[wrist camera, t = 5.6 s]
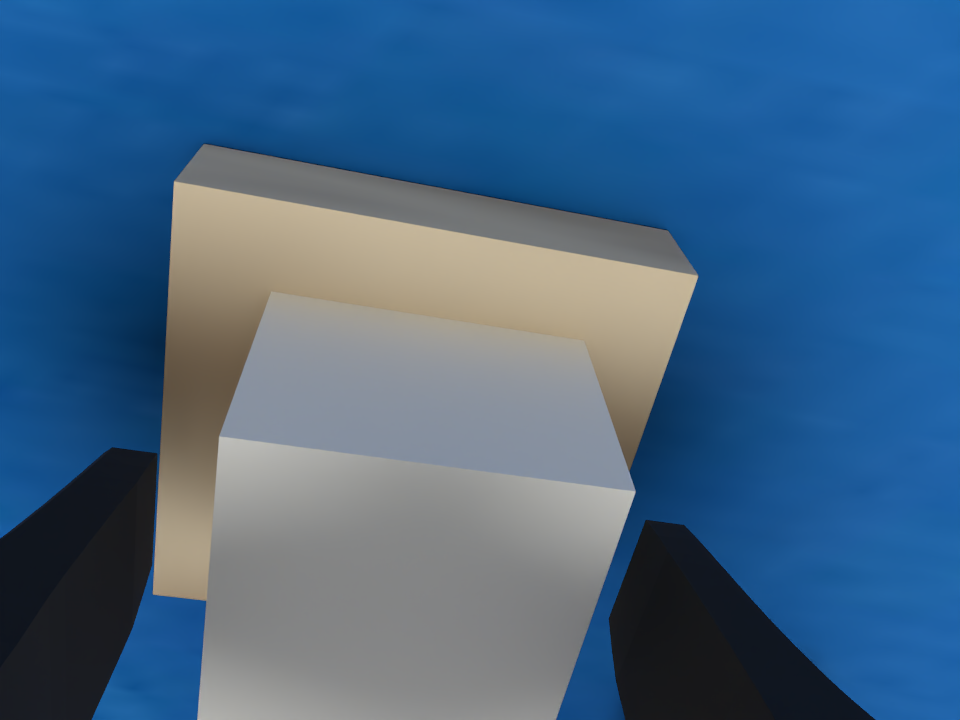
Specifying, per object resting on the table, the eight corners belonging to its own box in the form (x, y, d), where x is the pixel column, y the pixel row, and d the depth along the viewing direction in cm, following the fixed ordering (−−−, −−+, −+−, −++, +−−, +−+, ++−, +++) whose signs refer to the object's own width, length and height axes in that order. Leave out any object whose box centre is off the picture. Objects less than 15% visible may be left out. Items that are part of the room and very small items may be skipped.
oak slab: (556, 571, 19) (568, 641, 18) (178, 524, 18) (152, 594, 16) (667, 230, 16) (698, 275, 14) (203, 143, 15) (174, 181, 13)
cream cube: (516, 573, 17) (541, 759, 13) (246, 542, 16) (197, 729, 13) (584, 340, 14) (636, 491, 11) (270, 290, 14) (219, 436, 10)
